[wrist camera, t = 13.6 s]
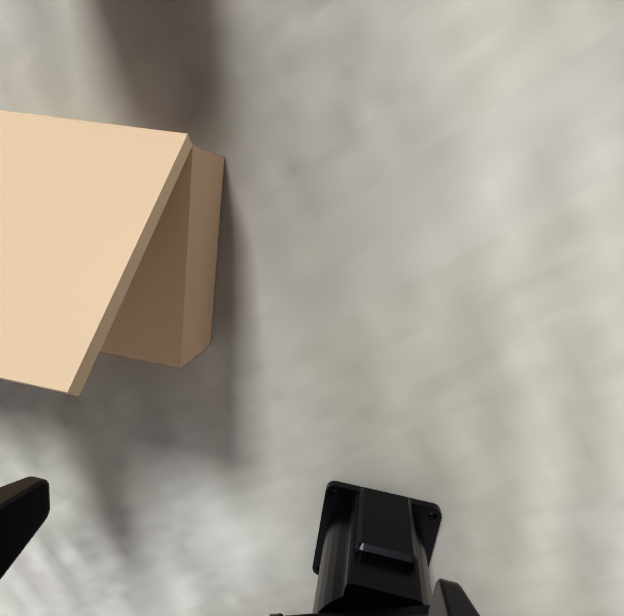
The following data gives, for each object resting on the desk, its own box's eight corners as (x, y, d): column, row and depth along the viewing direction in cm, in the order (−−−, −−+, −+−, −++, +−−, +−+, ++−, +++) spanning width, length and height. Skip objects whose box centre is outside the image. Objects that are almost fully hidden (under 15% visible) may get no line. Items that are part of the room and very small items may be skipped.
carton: (210, 344, 22) (180, 368, 19) (-66, 291, 24) (-136, 304, 21) (224, 157, 20) (192, 145, 16) (-85, 116, 22) (-170, 99, 18)
